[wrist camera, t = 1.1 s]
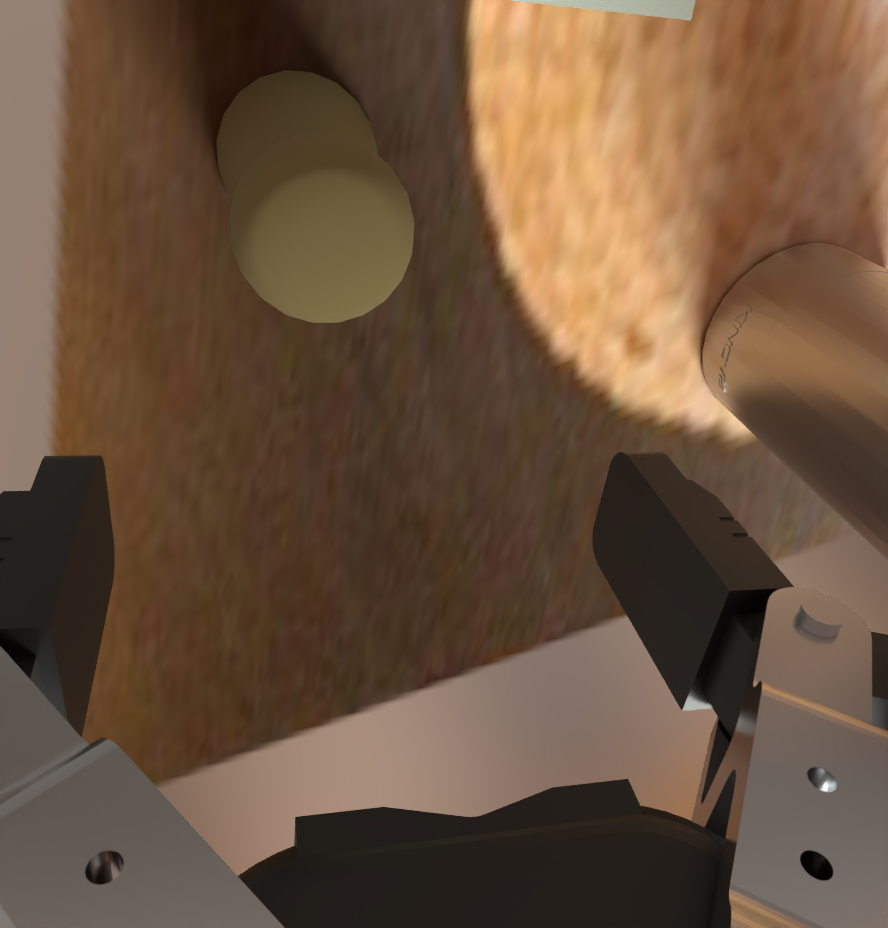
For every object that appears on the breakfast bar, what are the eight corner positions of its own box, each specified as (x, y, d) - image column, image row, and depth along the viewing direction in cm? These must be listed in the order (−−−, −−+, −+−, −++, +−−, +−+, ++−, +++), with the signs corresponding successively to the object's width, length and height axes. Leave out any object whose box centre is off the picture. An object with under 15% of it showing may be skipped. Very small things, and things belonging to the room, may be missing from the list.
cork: (199, 78, 28) (187, 145, 19) (368, 62, 29) (432, 118, 20) (234, 246, 32) (238, 369, 23) (385, 226, 33) (446, 337, 24)
